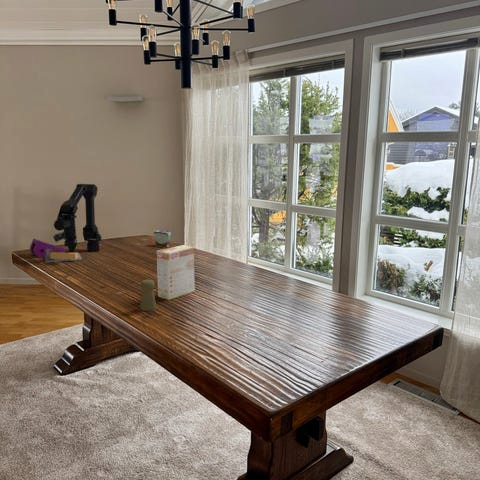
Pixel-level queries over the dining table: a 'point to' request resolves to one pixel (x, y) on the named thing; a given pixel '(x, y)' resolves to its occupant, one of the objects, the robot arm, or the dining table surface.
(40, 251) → the mounting bracket
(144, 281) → the olive green upright piece
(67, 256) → the swing arm
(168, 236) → the food container
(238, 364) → the dining table surface
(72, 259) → the chassis plate
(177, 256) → the coffeecake box
